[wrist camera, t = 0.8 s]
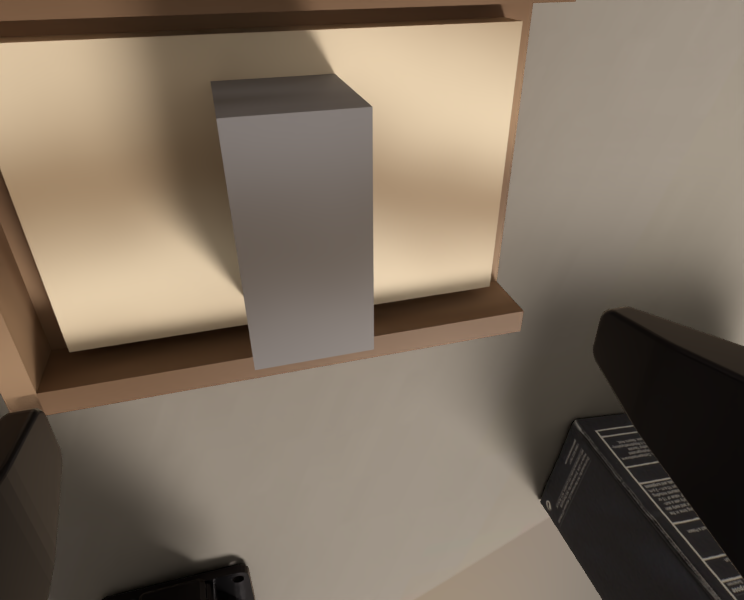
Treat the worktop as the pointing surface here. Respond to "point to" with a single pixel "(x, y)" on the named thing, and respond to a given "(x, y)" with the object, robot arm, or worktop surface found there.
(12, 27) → the walnut tray
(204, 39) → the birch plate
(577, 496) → the small box
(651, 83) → the worktop surface
